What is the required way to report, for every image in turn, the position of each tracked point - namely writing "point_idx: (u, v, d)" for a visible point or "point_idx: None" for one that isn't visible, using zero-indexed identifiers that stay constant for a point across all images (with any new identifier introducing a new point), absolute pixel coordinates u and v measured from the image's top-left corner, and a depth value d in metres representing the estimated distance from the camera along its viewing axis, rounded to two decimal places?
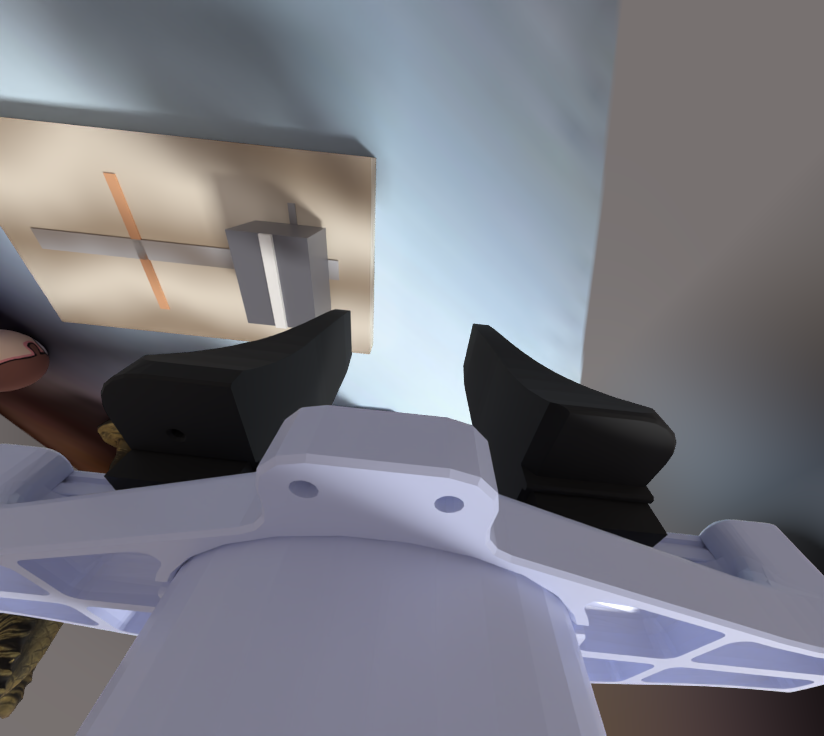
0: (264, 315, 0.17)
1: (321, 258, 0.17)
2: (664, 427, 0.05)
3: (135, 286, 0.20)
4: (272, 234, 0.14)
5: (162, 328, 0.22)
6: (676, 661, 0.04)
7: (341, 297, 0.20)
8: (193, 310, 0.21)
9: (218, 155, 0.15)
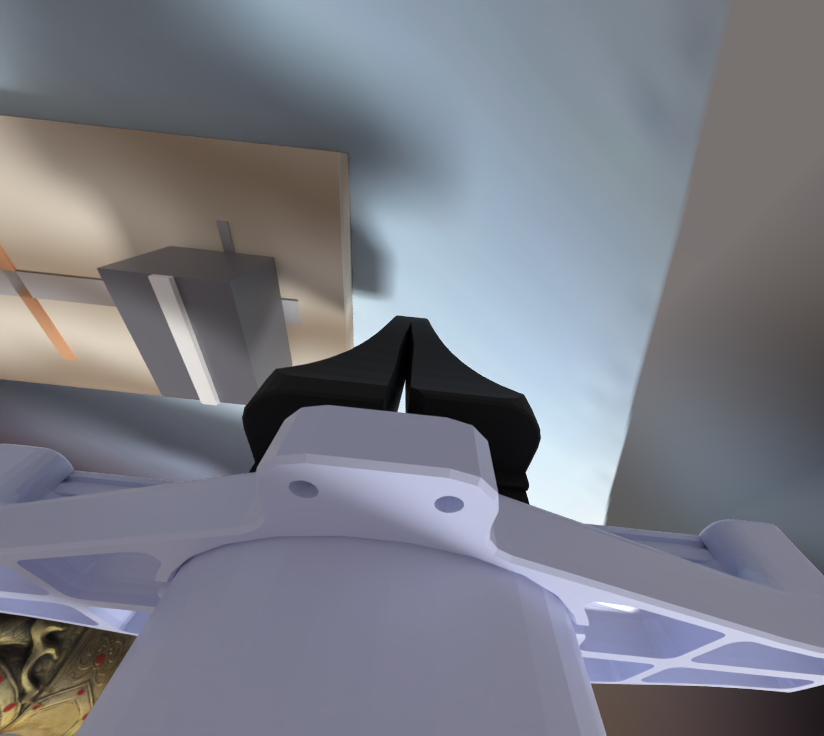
0: (183, 387, 0.11)
1: (267, 303, 0.11)
2: (521, 412, 0.05)
3: (24, 330, 0.14)
4: (174, 275, 0.09)
5: (72, 382, 0.16)
6: (676, 661, 0.04)
7: (307, 347, 0.14)
8: (108, 361, 0.15)
9: (102, 149, 0.10)
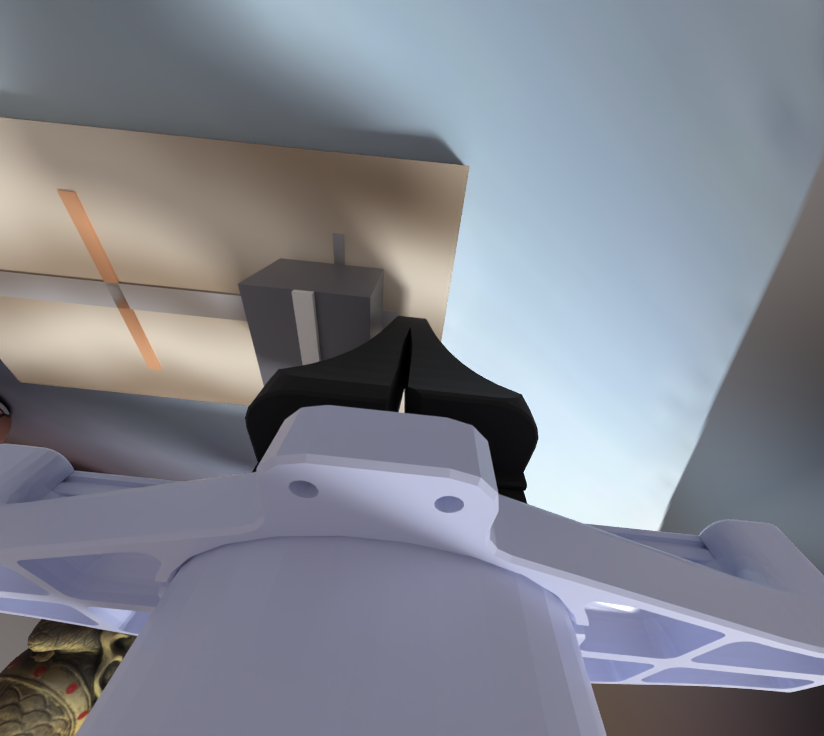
0: None
1: (378, 315, 0.11)
2: (519, 412, 0.05)
3: (114, 341, 0.15)
4: (314, 291, 0.09)
5: (152, 391, 0.16)
6: (676, 661, 0.04)
7: None
8: (193, 371, 0.15)
9: (230, 164, 0.10)
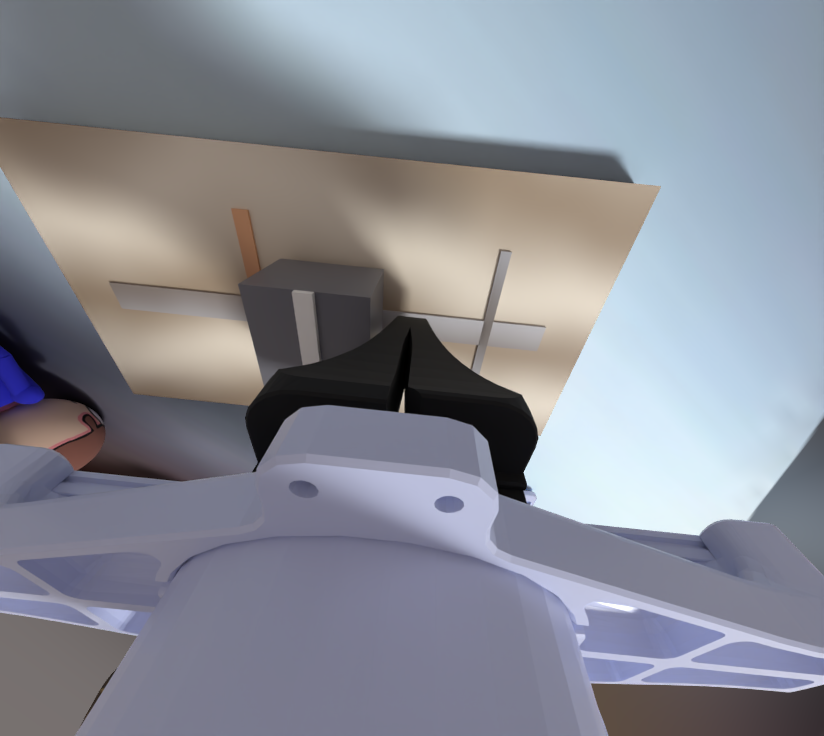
0: None
1: (378, 315, 0.11)
2: (519, 412, 0.05)
3: (242, 354, 0.15)
4: (314, 291, 0.09)
5: None
6: (676, 661, 0.04)
7: (530, 370, 0.14)
8: None
9: (416, 183, 0.10)
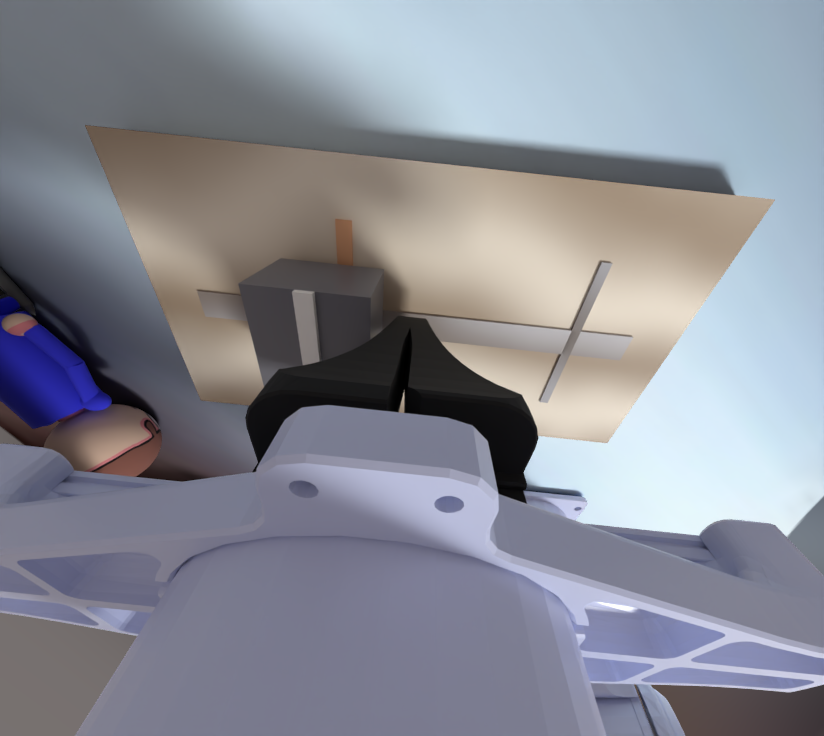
0: None
1: (378, 315, 0.11)
2: (518, 412, 0.05)
3: None
4: (314, 291, 0.09)
5: None
6: (676, 661, 0.04)
7: (609, 379, 0.14)
8: None
9: (527, 195, 0.10)
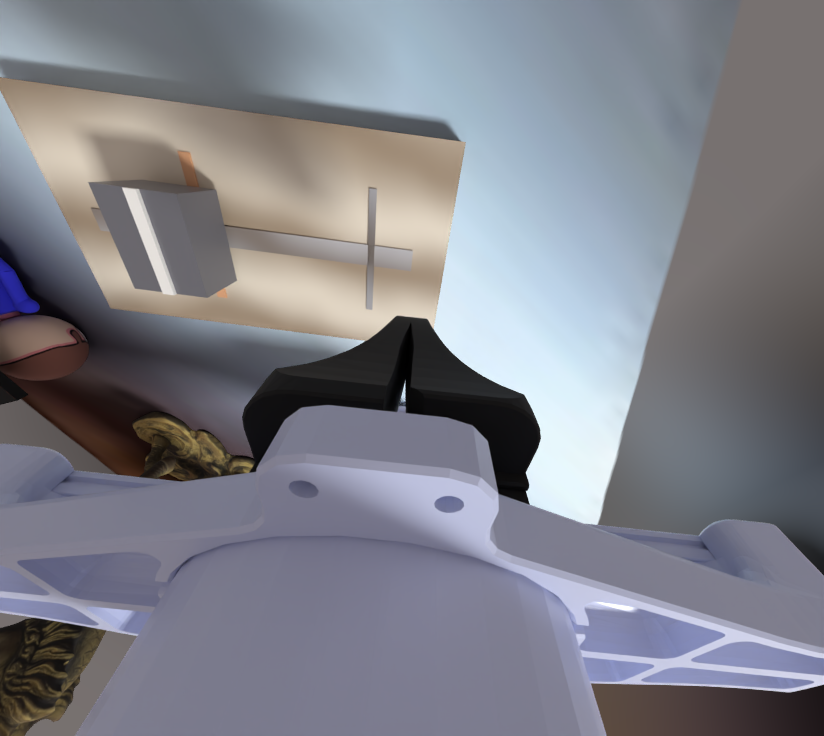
0: (149, 280, 0.16)
1: (210, 221, 0.16)
2: (521, 412, 0.05)
3: None
4: (139, 189, 0.13)
5: (216, 317, 0.21)
6: (676, 661, 0.04)
7: (410, 288, 0.19)
8: (251, 299, 0.20)
9: (303, 135, 0.15)
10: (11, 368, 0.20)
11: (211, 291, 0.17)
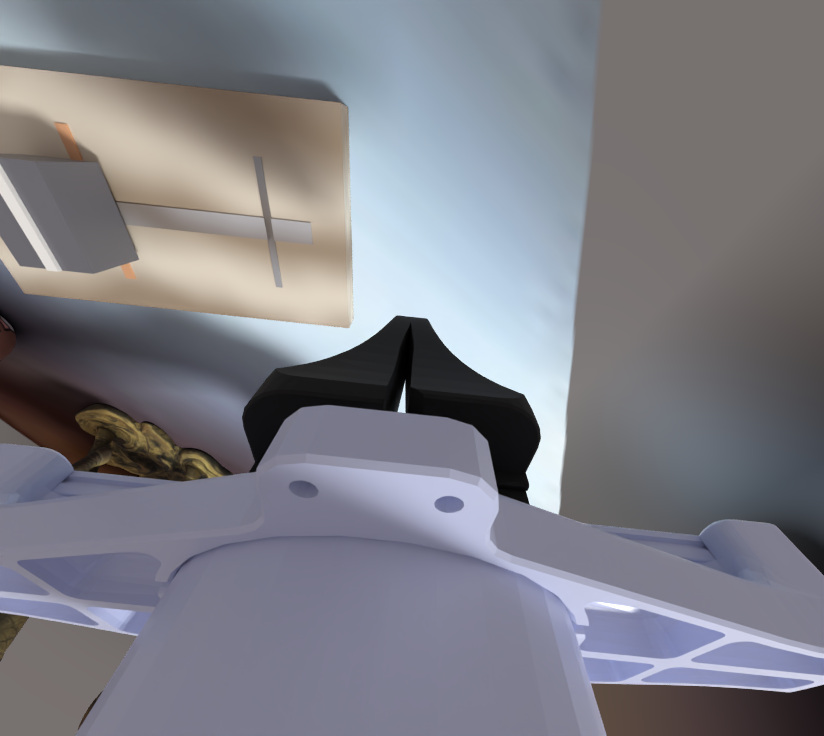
0: (32, 256, 0.16)
1: (91, 194, 0.15)
2: (521, 412, 0.05)
3: None
4: None
5: (129, 300, 0.21)
6: (676, 661, 0.04)
7: (316, 264, 0.18)
8: (161, 280, 0.20)
9: (176, 101, 0.14)
10: None
11: (99, 267, 0.16)
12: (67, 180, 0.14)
